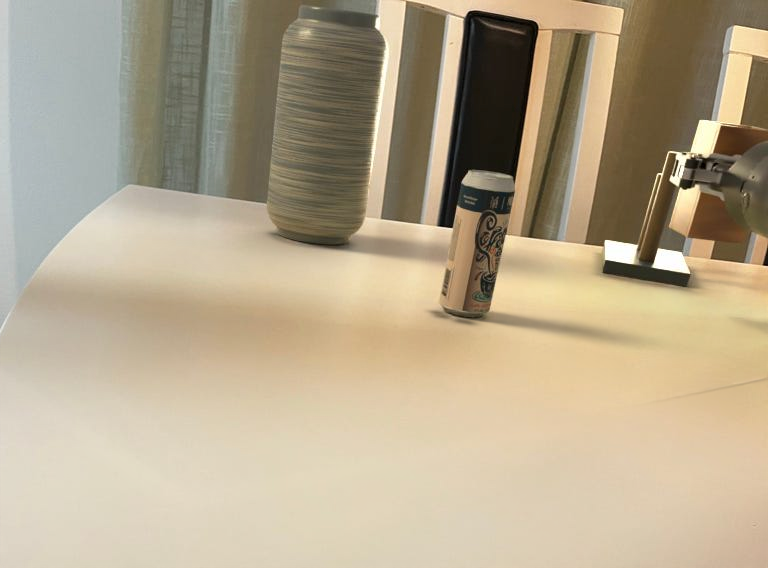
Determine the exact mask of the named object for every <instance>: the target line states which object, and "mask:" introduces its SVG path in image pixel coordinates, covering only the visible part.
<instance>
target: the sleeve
mask: <svg viewBox="0 0 768 568" xmlns="http://www.w3.org/2000/svg"><path fill="white" fill-rule="evenodd" d="M694 135H695V136H694V138H693V141H692V145H691V148H690V149H691V150H690V153H695V154H697V153H699V154H703V155H702V156H707V157H709V155H710V154H712V153H720V154H727V155H731V156H734V155H743V154H745V153H746V152H747V151H748V150H750V149H751V148H752V147H754V146H756V145H758V144H760V143H762V142H765V141H768V128H767V129H766V128H762V127H758V126H753V125H745V124H737V123H729V122H721V121H713V120H705V119H699V122H698V125H697V128H696V132H695V134H694ZM724 163H729V162H724ZM724 163H723V164H724ZM703 169H706V163H705V164H704V167H703ZM670 218H671V219H670V220H669V221H670V222H669V225H668V228H669V229H671V230H672V231H674V232H676V233H678V234H680V235H682V236H684V237H685V238H688V239H695V240H702V241H703V240H704V241H711V242H712V241H713V242H721V243H729V244H738V245H742V244H743V242H744V239H745V236H746V232H747V231H748V230H747V229H745V228H743V227H741V226H739V225H738V224H737V223H735V222H734V221H733V220H732V218H731V217H730V215H729V213H728V211H727V209H726V205H725V201H722V200H721V199H720V197H719V196H715V195H711V194H707V193H703V192H701V191H700V187H699V185H695V187H694V188H691V189H687V190H683V189H682V188H680V187H679V190H678V194H677V198H676V200H675V204H674V208H673V211H672V214H671V217H670Z"/></svg>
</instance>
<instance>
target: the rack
mask: <svg viewBox="0 0 768 568" xmlns="http://www.w3.org/2000/svg"><path fill="white" fill-rule="evenodd" d="M677 153H679V152H678V151H668V152H667V155H666V159H665V162H664V166H663V169H662V173H661V172H660V173H657V174H656V178H655V182H654V184H653V189H652V192H651V196H650V199H649V202H648V206H647V210H646V214H645V217H644V221H643V224H642V228H641V232H640V234H639V237H638V242H637V244H632V243H625V242H620V241H614V240H608V239H605V240H604V242H603V247H602V251H601V272H602V273H603V274H609V275H614V276H620V277H626V278H632V279H637V280H638V279H639V280H643V281H650V282H655V283H662V284H668V285H672V286H673V285H674V286H680V287H688V284H689V282H690V278H691V275H692V274H691V272H690V269H689V267H688V265H687V262H686V260H685V257H684V254H683V253H682V252H681V251H676V250H668V249H662V248H660V244H661V241H662V238H663V234H664V231H665V227H666V224H667V220H668V217H669V214H670V210H671V207H672V203H673V200H674V197H675V193H676V190H677V186H676V185H675V184H674V183H672V182H671V181H670V178H671V175H672V172H673V169H674V165H675V162H676V156H677Z"/></svg>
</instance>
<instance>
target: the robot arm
mask: <svg viewBox="0 0 768 568" xmlns="http://www.w3.org/2000/svg"><path fill="white" fill-rule="evenodd" d="M690 152H691V151H690ZM690 152H689V151H681V152H678V153H677V156H676V162H675V165H674V169H673V172H672V175H671V178H670V181H671V182H672V183H674V184H675V185H676V187H678V188H679V189H680V188H682V189H683V190H687V189H691V188H694V187H695V185H699V187H700V191H701V192H703V193H707V194H711V195H715V196H719V197H720V199H721V200H722V201H725V205H726V209H727V211H728V213H729V215H730V217H731V218H732V220H733V221H734V222H735V223H737V224H738V225H739V226H741V227H743V228H745V229H747V230H746V231H749V232H752V233H754V234H756V235H758V236H760V237H762V238H765V239H767V240H768V141H765V142H762V143H760V144H758V145H756V146H754V147H752V148H751V149H750V150H748V151H747V152H746V153H745V154H743V155H734V156H731V155H727V154H720V153H712V154H710V155H709V157H707V156H702V155H703V154H699V153H697V154H695V153H690ZM724 162H729V163H724ZM705 163H706V169H703V167H704V164H705ZM723 163H724V164H723Z"/></svg>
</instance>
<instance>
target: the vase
mask: <svg viewBox="0 0 768 568" xmlns="http://www.w3.org/2000/svg"><path fill="white" fill-rule="evenodd" d="M298 7H299V8H298V17H297V19H295V20H294V21H292V22H291V23H290V24H289V26H288V27H287V28H286V30H284V31H285V32H284V34H283V36H282V41H281V51H280V62H279V71H278V83H277V93H276V104H275V115H274V124H273V133H272V134H273V136H272V145H271V156H270V167H269V176H268V187H267V198H266V212H267V215H268V217H269V219H270V221H271V222H272V224H274V226H275V227H276V233H277V234H278V235H279V236H280V237H283V238H285V239H290V240H292V241H297V242H302V243H307V244H316V245H326V246H327V245H329V246H330V245H331V246H332V245H333V246H334V245H338V246H339V245H345V244H348V243H349V242H350V240H351V239H350V238H351V236H353V235H355V234H356V233H357V232H358V231H359V230H360V229H361V228H362V226H363V224H364V222H365V219H366V213H367V206H368V205H367V204H368V199H369V193H370V186H371V179H372V172H373V166H374V165H373V164H374V158H375V151H376V144H377V136H378V130H379V123H380V116H381V108H382V102H383V96H384V95H383V94H384V89H385V80H386V73H387V67H388V60H389V53H390V52H389V45H388V41H387V40H386V37H385V35H384V34H383V33H382V32H381V31H380V23H381V22H380V20H381V17H380V15H378V14H374V13H368V12H361V11H354V10H347V9H341V8H340V9H339V8H333V7H326V6H325V7H324V6H317V5H307V4H301V5H300V6H298Z"/></svg>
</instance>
